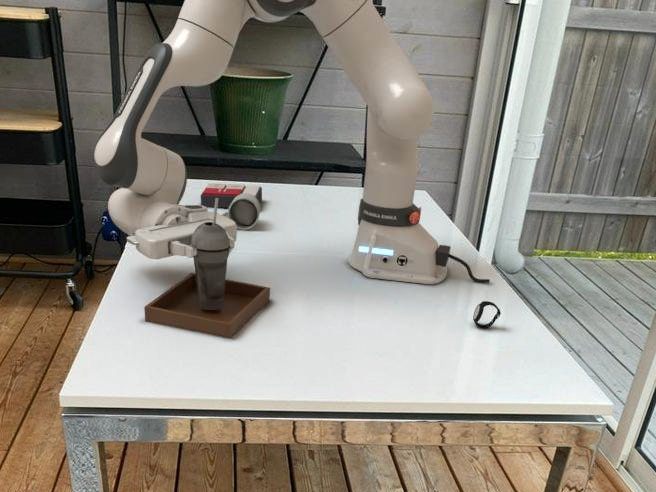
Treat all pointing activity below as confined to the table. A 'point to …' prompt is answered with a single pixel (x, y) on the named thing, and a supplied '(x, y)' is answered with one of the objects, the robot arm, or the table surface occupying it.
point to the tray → (185, 312)
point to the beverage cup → (210, 262)
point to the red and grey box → (227, 194)
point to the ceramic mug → (244, 211)
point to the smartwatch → (479, 313)
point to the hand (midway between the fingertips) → (213, 248)
